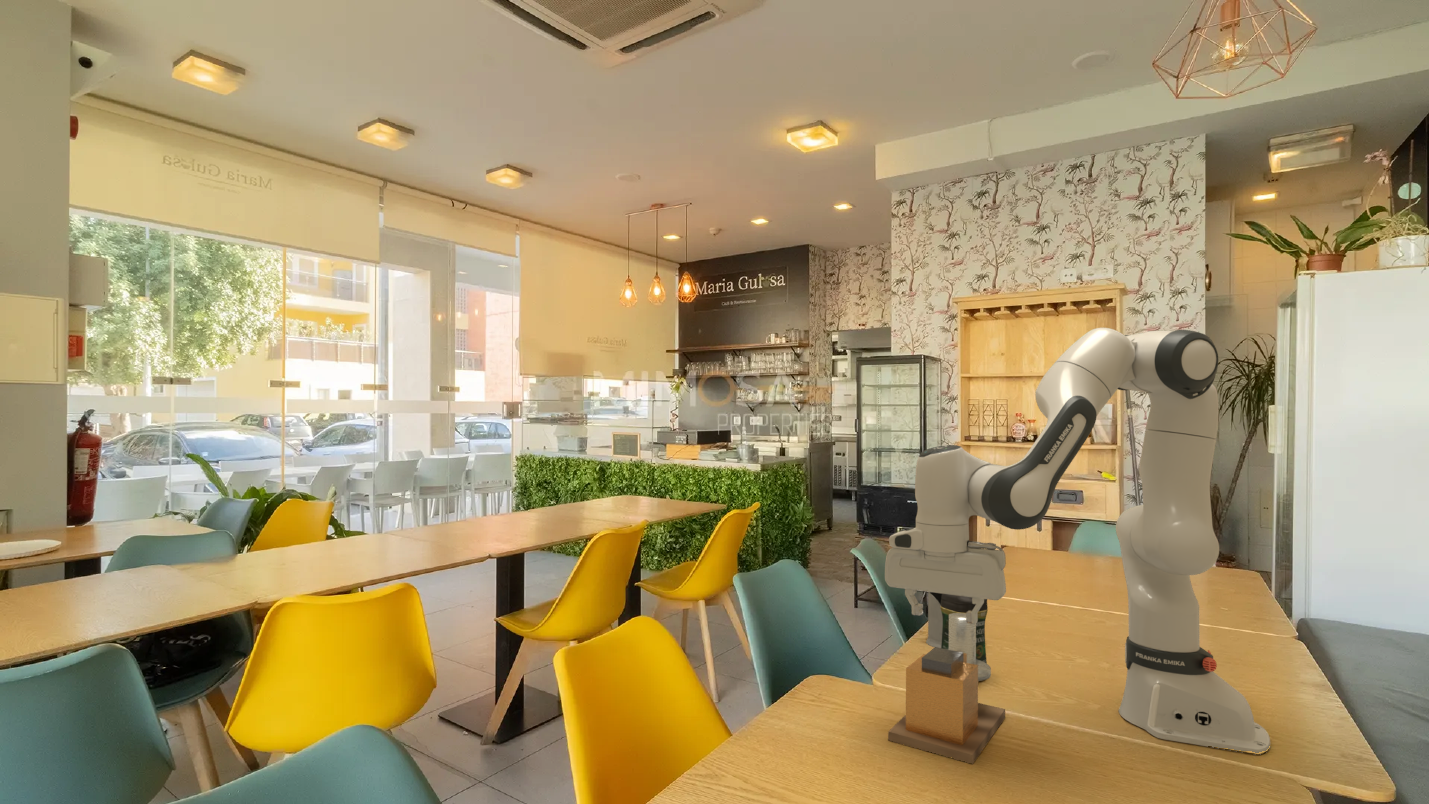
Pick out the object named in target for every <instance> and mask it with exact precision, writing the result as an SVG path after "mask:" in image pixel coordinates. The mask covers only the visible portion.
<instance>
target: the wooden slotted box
mask: <svg viewBox="0 0 1429 804" xmlns="http://www.w3.org/2000/svg"><path fill="white" fill-rule="evenodd" d="M966 619H967V617H966V614H965V613H952V614H949V650H953V651H958V652H963V665H962V666H961V667H960V668H959V669H958V670H957V671H956V672H955V673H954V674H953V675H952V676H949V675H944V674H939V673H935V672H930V671H926V670H922V657H923V656H925V655H926V654H927V653H925V654H924V653H923V654H922V655H920V657H918V658H917V659H916V660H914V661H913V662H912V663H910V665H908V666H907V667H906V668H905V715H906V730H908V731H912V732H915V733H919V734H923V735H926V736H930V737H934V738H937V739H941V740H945V741H948V742H952V743H956V744H959V745H964V743H965V742H966V741H967V739H968V738H969V737H970V735H971V734H972V733H973V731H974V730H975V729H976V728H977V726H978V703H979V682H980V681H982V682H983V681H985V680H988V679H990V677H991V675H992V669H991V666H990V665H989V664H988V662H987V663H985V662H983V661H980V660H977V659H976V624H971V623H967V622H966Z"/></svg>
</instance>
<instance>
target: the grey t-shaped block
mask: <svg viewBox="0 0 1429 804" xmlns="http://www.w3.org/2000/svg"><path fill="white" fill-rule="evenodd" d="M925 654H926V655H925V656H923V657H922V670H926V671H930V672H935V673H939V674H944V675H949V676H952V675H953V674H954V673H955V672H956V671H957V670H958V669H959V668H960V667H961V666H962V665H963V652H958V651H953V650H948V649H943V648H937V647H932V648H931V650H930V651H928V652H927V653H925Z"/></svg>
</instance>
